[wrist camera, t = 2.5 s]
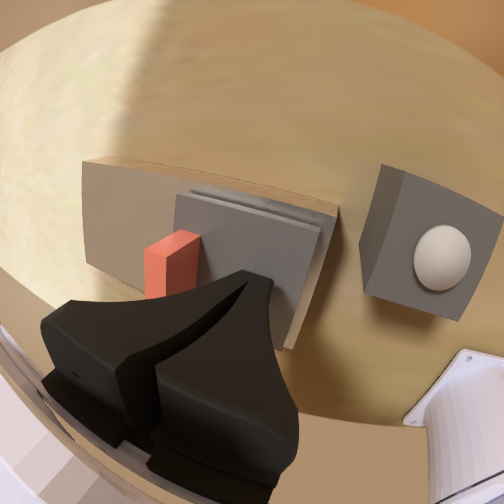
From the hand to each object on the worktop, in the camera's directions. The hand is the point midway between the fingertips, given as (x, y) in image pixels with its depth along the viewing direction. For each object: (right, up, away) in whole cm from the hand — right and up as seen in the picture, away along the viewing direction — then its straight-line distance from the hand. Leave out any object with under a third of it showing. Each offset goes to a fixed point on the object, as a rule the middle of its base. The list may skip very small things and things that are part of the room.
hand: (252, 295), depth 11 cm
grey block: (+7, +3, +1) cm, 8 cm away
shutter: (-1, +1, +1) cm, 2 cm away
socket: (-3, +3, +5) cm, 6 cm away
